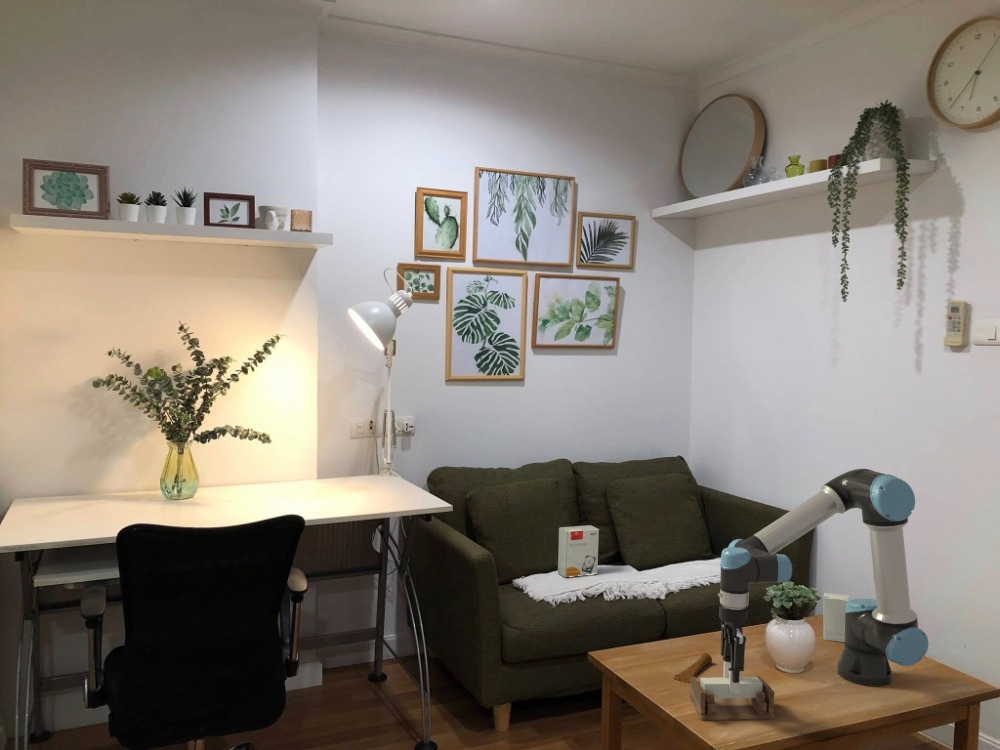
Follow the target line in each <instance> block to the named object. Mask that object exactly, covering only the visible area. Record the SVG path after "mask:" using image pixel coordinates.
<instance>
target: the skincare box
mask: <svg viewBox="0 0 1000 750" xmlns="http://www.w3.org/2000/svg"><path fill="white" fill-rule="evenodd" d="M822 599H823V600H822V601H823V606H822V607H823V608H822V609H823V610H822V611H823V612H822V613H823V619H822V621H823V631H822V632H823V633H822V634H823V640H824V641H833V642H838V643H839V642H840V643H844V641H845V609H846V604H847V602H848V601H849V600H850V595H848V594H840V593H839V594H838V593H828V592H823V598H822Z"/></svg>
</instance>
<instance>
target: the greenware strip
mask: <svg viewBox="0 0 1000 750" xmlns="http://www.w3.org/2000/svg"><path fill="white" fill-rule="evenodd" d="M699 679H700V680H699V682H700V686H701V687H702V689H703V690H704V691H705V698H706V693H714V698H757V692H762V684H763V683H762V682H761V681H760V680H759V679H758V678H757V677H756V676H750V677H749V676H746V677H744V676H742V677H741V676H740V693H729V677H724V678H723V677H700V678H699Z"/></svg>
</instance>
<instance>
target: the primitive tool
mask: <svg viewBox="0 0 1000 750" xmlns="http://www.w3.org/2000/svg"><path fill="white" fill-rule="evenodd" d="M712 661H713V659H712V656H711V655H710V654H709V653H708V652H703V653H702V654H701V656H700V658H698V659H697V660H696V661H695V662H694V663H692V664H691V665H690V666H688V667H687V668H686V669H685V670H683V671H680V672H679V673H678V674H674V676H673V677H672V680H673V679H674V680H677V681H680V682H679V683H681V682H684V683H690V677H695V678H696V676H697V675H698V674H699V673H698V672H700V670H701V671H702V669H703V668H704V667H705V666H706V665H709V664H708V663H710V664H712ZM697 673H698V674H697ZM674 680H673V681H674ZM677 681H676V682H677ZM684 683H683V684H684Z"/></svg>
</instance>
